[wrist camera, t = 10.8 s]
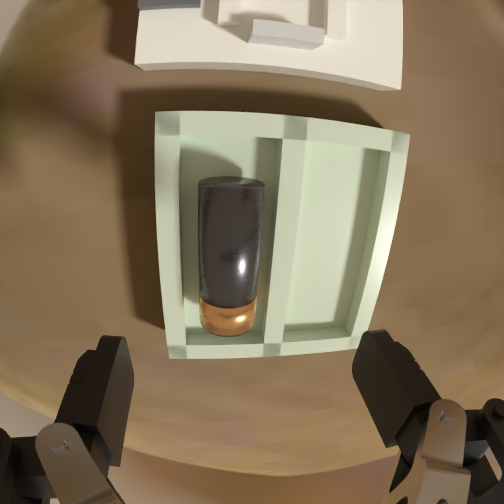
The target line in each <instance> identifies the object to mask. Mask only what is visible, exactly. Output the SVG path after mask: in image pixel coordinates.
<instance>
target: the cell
mask: <svg viewBox="0 0 504 504" xmlns="http://www.w3.org/2000/svg"><path fill="white" fill-rule="evenodd" d="M264 190H265V184H264V183H263V182H262V181H259V180H256V179H251V178H245V177H235V176H219V177H210V178H205V179H202V180H200V181H199V182H198V267H199V313H200V323H201V325H202V327H203V328H204V329H205V330H206V331H208V332H209V333H211V334H214V335H217V336H222V337H235V336H240V335H243V334H245V333H247V332H248V331H250V330H251V329H252V328H253V326H254V324H255V317H256V304H257V287H258V273H259V260H260V246H261V232H262V218H263V204H264Z"/></svg>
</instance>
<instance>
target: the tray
mask: <svg viewBox="0 0 504 504" xmlns="http://www.w3.org/2000/svg"><path fill="white" fill-rule="evenodd" d="M409 139H410V134H405V133H401V132H396V131H391V130H386V129H381V128H376V127H370V126H365V125H359V124H353V123H346V122H340V121H333V120H325V119H317V118H309V117H300V116H290V115H279V114H266V113H251V112H229V111H159V112H155V201H156V225H157V243H158V258H159V271H160V283H161V293H162V303H163V313H164V322H165V330H166V338H167V346H168V353H169V358H173V359H213V358H248V357H268V356H284V355H297V354H309V353H320V352H330V351H339V350H348V349H356V348H358V346H359V343H360V339H361V336H362V334H363V333H364V332H365V331H367V330H368V327H369V323H370V320H371V317H372V314H373V310H374V307H375V304H376V300H377V297H378V293H379V289H380V286H381V282H382V278H383V275H384V271H385V267H386V263H387V259H388V255H389V251H390V246H391V242H392V238H393V233H394V228H395V224H396V219H397V214H398V209H399V204H400V198H401V193H402V187H403V181H404V175H405V168H406V161H407V154H408V147H409ZM219 176H235V177H245V178H251V179H256V180H259V181H262V182H263V183H264V184H265V190H264V204H263V218H262V232H261V246H260V260H259V273H258V287H257V304H256V317H255V324H254V326H253V328H252V329H251V330H250V331H248V332H247V333H245V334H243V335H240V336H235V337H222V336H217V335H214V334H211V333H209V332H208V331H206V330H205V329H204V328H203V327H202V325H201V323H200V313H199V267H198V182H199V181H200V180H202V179H205V178H210V177H219Z"/></svg>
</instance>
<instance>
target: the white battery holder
mask: <svg viewBox="0 0 504 504" xmlns="http://www.w3.org/2000/svg"><path fill="white" fill-rule="evenodd" d="M137 8H138V9H139V10H140V13H139V21H138V30H137V40H136V51H135V65H136V66H138V67H139V68H141V69H143V70H144V71H147V70H168V69H224V70H244V71H258V72H270V73H280V74H289V75H297V76H304V77H311V78H318V79H324V80H330V81H336V82H341V83H347V84H352V85H357V86H361V87H366V88H370V89H375V90H379V91H382V90H401V78H402V54H403V7H402V0H138V6H137Z"/></svg>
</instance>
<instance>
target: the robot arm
mask: <svg viewBox="0 0 504 504" xmlns="http://www.w3.org/2000/svg"><path fill="white" fill-rule="evenodd" d="M352 374H353V378H354V380H355V382H356V385H357V387H358V389H359V391H360V393H361V395H362V397H363V399H364V401H365V404H366V406H367V408H368V410H369V412H370V414H371V416H372V419H373V421H374V423H375V425H376V427H377V429H378V432H379V434H380V436H381V438H382V440H383V443H384V445H385V447H386V448H389V447H392V446H396V445H398V446H399V448H400V450H399V452H398V453H397V456H396V459H395V463H394V466H393V469H392V472H391V475H390V478H389V481H388V484H387V486H386V489H385V492H384V495H383V497H382V499H381V500H380V502H379V504H504V401H503V400H501V399H497V398H493V399H490V400H488V401H487V402H486V403H485V405H484V406H483V408H482V409H480V410H464V409H463V408H462V407H461V406H460V405H459V404H458V403H456V402H454V401H452V400H449V399H442V398H441V397H440V396H439V394H438V392H437V391H436V389H435V388H434V386H433V385H432V383H431V382H430V380H429V379H428V378H427V376H426V375H425V373H424V372H423V370H421V367H420V366H419V364H418V363H417V362H415V359H414V357H413V356H412V354H411V353H410V351H409V350H408V349H407V348H405V347H404V346H403V345H401V344H400V343H399V342H398V341H397V342H394V340H393V339H392V338H391V336H390V335H389V333H388V332H387V331H386V330H384V329H381V330H372V331H365V332H364V333H363V334H362V336H361V339H360V343H359V346H358V349H357V351H356V354H355V357H354V360H353V364H352ZM69 382H70V383H69V384H68V386H67V389H66V392H65V394H64V397H63V400H62V403H61V405H60V408H59V411H58V414H57V417H56V419H55V422H54V423H53V424H49V425H47V426H45V427H44V428H43V429H42V430H41V431H40V432H39V433H38V435H37V436H33V437H16V438H11V437H10V436H9V435H8V434H7V432H6V431H4V430H3V429H2V428H0V504H50V499H51V498H58V500H59V502H60V504H126V503H125V502H124V500H123V499H122V498H121V496H120V495H119V493H118V492H117V490H116V489H115V488H114V486H113V484H112V483H111V481H110V480H109V478H108V477H107V476H108V469H109V465H110V466H117V467H120V463H121V455H122V449H123V443H124V436H125V430H126V424H127V419H128V413H129V408H130V402H131V397H132V392H133V387H134V372H133V367H132V363H131V359H130V355H129V350H128V346H127V342H126V339H125V337H122V336H106V335H103V336H102V337H101V338H100V341H99V343H98V346H97V349H96V350H87V351H86V352H85V353H84V354H83V355H82V356H81V357H80V358H79V359H78V361H77V363H76V366H75V368H74V371H73V374H72V376H71V378H70V381H69ZM490 448H491V450H492V452H493V454H494V456H495V458H496V460H497V461H498V463H499V465H500V467H501V470H502V477H501V479H500V481H498V480H497V478H496V476H495V474H494V472H493V470H492V468H491V466H490V464H489V462H488V460H487V458H486V456H485V453H486V452H487V451H488V450H489V449H490Z"/></svg>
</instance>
